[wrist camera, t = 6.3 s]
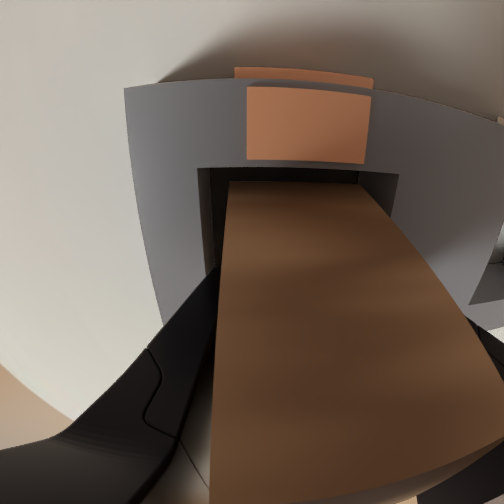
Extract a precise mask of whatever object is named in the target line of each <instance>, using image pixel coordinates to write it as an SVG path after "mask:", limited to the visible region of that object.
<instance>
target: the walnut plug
mask: <svg viewBox="0 0 504 504" xmlns="http://www.w3.org/2000/svg"><path fill="white" fill-rule="evenodd" d="M503 441H504V382H503V380H502V378H501V377H500V375H499V373H498V371H497V369H496V367H495V365H494V364H493V362H492V360H491V358H490V357H489V355H488V353H487V351H486V350H485V348H484V346H483V345H482V343H481V341H480V340H479V338H478V336H477V335H476V333H475V332H474V330H473V328H472V327H471V325H470V324H469V322H468V320H467V319H466V317H465V316H464V314H463V313H462V311H461V310H460V308H459V307H458V305H457V304H456V302H455V301H454V300H453V298H452V297H451V295H450V294H449V292H448V291H447V290H446V288H445V287H444V285H443V284H442V283H441V281H440V280H439V278H438V277H437V276H436V274H435V273H434V272H433V270H432V269H431V268H430V266H429V265H428V264H427V262H426V261H425V260H424V259H423V257H422V256H421V255H420V253H419V252H418V251H417V250H416V248H415V247H414V246H413V245H412V243H411V242H410V241H409V240H408V238H407V237H406V236H405V235H404V234H403V232H402V231H401V230H400V229H399V228H398V226H397V225H396V224H395V223H394V222H393V221H392V219H391V218H390V217H389V216H388V215H387V214H386V212H385V211H384V210H383V209H382V208H381V207H380V206H379V205H378V203H377V202H376V201H375V200H374V199H373V198H372V197H371V196H370V195H369V194H368V192H367V191H366V190H365V189H364V188H363V187H362V186H361V185H359V184H340V183H314V182H229V190H228V200H227V211H226V221H225V232H224V243H223V255H222V266H221V279H220V291H219V305H218V318H217V333H216V348H215V365H214V382H213V401H212V423H211V448H210V480H209V504H396V503H399V502H402V501H405V500H408V499H410V498H412V497H414V496H416V495H418V494H420V493H422V492H424V491H426V490H428V489H430V488H432V487H434V486H436V485H437V484H439V483H441V482H443V481H445V480H446V479H448V478H450V477H451V476H453V475H455V474H456V473H458V472H460V471H461V470H463V469H464V468H466V467H468V466H469V465H471V464H472V463H474V462H475V461H477V460H478V459H479V458H481V457H482V456H484V455H485V454H487V453H488V452H489V451H491V450H492V449H493V448H495V447H496V446H497V445H499V444H500V443H501V442H503Z"/></svg>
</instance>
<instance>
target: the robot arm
mask: <svg viewBox="0 0 504 504" xmlns="http://www.w3.org/2000/svg"><path fill="white" fill-rule="evenodd" d="M220 279H221V267H214V268H212V269H211V271H210V272H209V273H208V274H207V275H206V276H205V278H204V279H203V280H202V281H201V282H200V284H199V285H198V286H197V287H196V288H195V289H194V291H193V292H192V293H191V294H190V295H189V297H188V298H187V299H186V300H185V301H184V302H183V304H182V305H181V306H180V307H179V308H178V310H177V311H176V312H175V313H174V314H173V315H172V317H171V318H170V319H169V320H168V321H167V323H166V324H165V325H164V326H163V327H162V329H161V330H160V331H159V332H158V333H157V335H156V336H155V337H154V338H153V339H152V341H151V342H150V343H149V344H148V345H147V348H145V349H144V350H143V351H142V353H141V354H140V355H139V356H138V357H137V359H136V360H135V361H134V362H133V363H132V364H131V365H130V367H129V368H128V369H127V370H126V371H125V372H124V373H123V374H122V375H121V376H120V377H119V378H118V379H117V381H116V382H115V383H114V384H113V385H112V386H111V387H110V388H109V389H108V390H107V391H106V392H104V393H103V394H102V395H101V396H100V397H99V398H98V399H97V400H96V401H95V402H94V403H93V404H92V405H91V406H90V407H89V408H88V409H87V410H86V411H85V412H84V413H83V414H81V415H80V416H79V417H78V418H77V419H76V420H75V421H74V422H73V423H72V424H71V425H70V426H68V427H67V428H66V429H65V430H63V431H62V432H60V433H58V434H56V435H55V436H52V437H50V438H47V439H44V440H41V441H37V442H33V443H29V444H24V445H20V446H16V447H11V448H7V449H2V450H0V504H209V480H210V448H211V423H212V401H213V382H214V365H215V348H216V333H217V318H218V305H219V291H220ZM464 316H465V315H464ZM465 317H466V316H465ZM466 319H467V320H468V322H469V324H470V325H471V327H472V328H473V330H474V332H475V333H476V335H477V336H478V338H479V340H480V341H481V343H482V345H483V346H484V348H485V350H486V351H487V353H488V355H489V357H490V358H491V360H492V362H493V364H494V365H495V367H496V369H497V371H498V373H499V375H500V377H501V378H502V380H503V382H504V343H503V342H501V341H500V340H498V339H497V338H496V337H494V336H493V335H491V334H490V333H489V332H487V331H486V330H484V329H483V328H482V327H480V326H479V325H477V324H476V323H475V322H473V321H472V320H471V319H469V318H468V317H466ZM416 496H417V502H418V504H504V441H503V442H501V443H500V444H499V445H497V446H496V447H495V448H493V449H492V450H491V451H489V452H488V453H487V454H485V455H484V456H482V457H481V458H479V459H478V460H477V461H475V462H474V463H472V464H471V465H469V466H468V467H466V468H464V469H463V470H461V471H460V472H458V473H456V474H455V475H453V476H451V477H450V478H448V479H446V480H445V481H443V482H441V483H439V484H437V485H436V486H434V487H432V488H430V489H428V490H426V491H424V492H422V493H420V494H418V495H416Z"/></svg>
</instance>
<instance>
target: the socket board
mask: <svg viewBox="0 0 504 504" xmlns="http://www.w3.org/2000/svg"><path fill="white" fill-rule="evenodd" d="M373 84H374V79H373V78H367V77H361V76H355V75H348V74H341V73H333V72H325V71H315V70H304V69H290V68H268V67H234V78H218V79H198V80H184V81H173V82H163V83H155V84H148V85H141V86H135V87H129V88H124V97H125V110H126V122H127V132H128V142H129V151H130V159H131V167H132V174H133V181H134V188H135V194H136V201H137V207H138V213H139V218H140V224H141V229H142V235H143V240H144V245H145V250H146V255H147V259H148V264H149V269H150V273H151V278H152V282H153V286H154V290H155V295H156V299H157V303H158V307H159V310H160V314H161V318H162V322H163V326H164V325H165V324H166V323H167V321H168V320H169V319H170V318H171V317H172V315H173V314H174V313H175V312H176V311H177V310H178V308H179V307H180V306H181V305H182V304H183V302H184V301H185V300H186V299H187V298H188V297H189V295H190V294H191V293H192V292H193V291H194V289H195V288H196V287H197V286H198V285H199V284H200V282H201V281H202V280H203V279H204V278H205V276H206V275H207V274H208V273H209V272H210V271H211V269H212V268H214V267H215V253H214V238H213V223H212V205H211V186H210V168H213V167H296V168H323V169H342V170H357V171H359V177H358V184H359V185H361V186H362V187H363V188H364V189H365V190H366V191H367V192H368V194H369V195H370V196H371V197H372V198H373V199H374V200H375V201H376V202H377V203H378V205H379V206H380V207H381V208H382V209H383V210H384V211H385V212H386V214H387V215H388V216H389V217H390V218H391V219H392V221H393V222H394V223H395V224H396V225H397V226H398V228H399V229H400V230H401V231H402V232H403V234H404V235H405V236H406V237H407V238H408V240H409V241H410V242H411V243H412V245H413V246H414V247H415V248H416V250H417V251H418V252H419V253H420V255H421V256H422V257H423V259H424V260H425V261H426V262H427V264H428V265H429V266H430V268H431V269H432V270H433V272H434V273H435V274H436V276H437V277H438V278H439V280H440V281H441V283H442V284H443V285H444V287H445V288H446V290H447V291H448V292H449V294H450V295H451V297H452V298H453V300H454V301H455V302H456V304H457V305H458V307H459V308H460V310H461V311H462V313H463V314H464V315H465V316H466V317H468V318H469V319H471V320H472V321H473V322H475V323H476V324H477V325H479V326H480V327H482V328H483V329H484V330H486V331H488V330H492V329H496V328H500V327H503V326H504V259H503V261H502V263H496V264H488V261H489V259H490V257H491V254H492V252H493V249H494V247H495V244H496V242H497V239H498V236H499V234H500V231H501V228H502V225H503V222H504V118H501V117H499V116H498V118H497V122H494V121H492V120H489V119H486V118H484V117H481V116H478V115H475V114H472V113H469V112H466V111H463V110H460V109H456V108H453V107H450V106H446V105H443V104H439V103H436V102H432V101H428V100H424V99H420V98H416V97H412V96H407V95H403V94H398V93H393V92H388V91H383V90H377V89H373Z"/></svg>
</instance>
